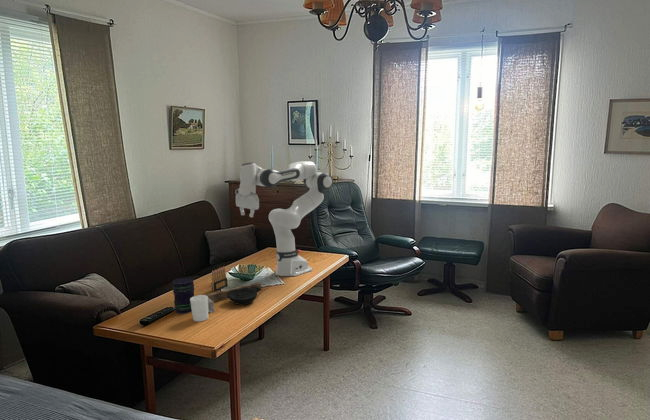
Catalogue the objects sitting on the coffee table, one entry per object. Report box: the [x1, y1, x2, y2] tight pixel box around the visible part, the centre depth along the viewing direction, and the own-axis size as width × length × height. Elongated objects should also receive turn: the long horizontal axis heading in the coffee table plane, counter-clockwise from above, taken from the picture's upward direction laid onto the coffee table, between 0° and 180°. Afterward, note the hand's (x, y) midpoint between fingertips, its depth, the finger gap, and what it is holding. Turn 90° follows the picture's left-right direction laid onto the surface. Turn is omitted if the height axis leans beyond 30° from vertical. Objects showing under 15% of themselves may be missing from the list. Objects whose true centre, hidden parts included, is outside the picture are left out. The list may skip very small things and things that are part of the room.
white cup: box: [190, 294, 209, 322], centre depth 202 cm, size 8×8×10 cm
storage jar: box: [172, 276, 195, 315], centre depth 214 cm, size 10×10×15 cm
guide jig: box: [205, 281, 263, 314], centre depth 225 cm, size 34×15×5 cm, turn 125°
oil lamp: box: [228, 286, 261, 306], centre depth 224 cm, size 15×20×5 cm
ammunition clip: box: [211, 265, 229, 293], centre depth 243 cm, size 11×2×12 cm, turn 150°
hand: (246, 216), depth 248 cm, fingers open, 8 cm apart
